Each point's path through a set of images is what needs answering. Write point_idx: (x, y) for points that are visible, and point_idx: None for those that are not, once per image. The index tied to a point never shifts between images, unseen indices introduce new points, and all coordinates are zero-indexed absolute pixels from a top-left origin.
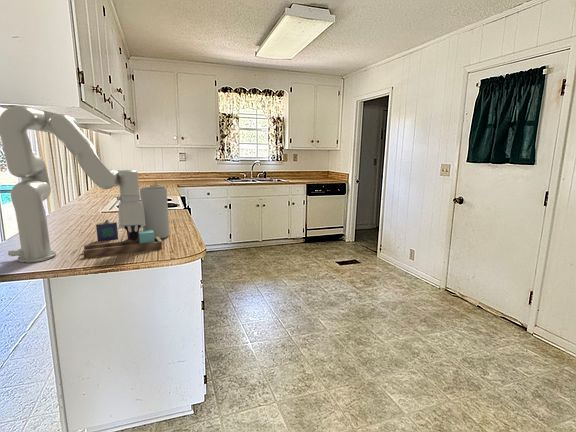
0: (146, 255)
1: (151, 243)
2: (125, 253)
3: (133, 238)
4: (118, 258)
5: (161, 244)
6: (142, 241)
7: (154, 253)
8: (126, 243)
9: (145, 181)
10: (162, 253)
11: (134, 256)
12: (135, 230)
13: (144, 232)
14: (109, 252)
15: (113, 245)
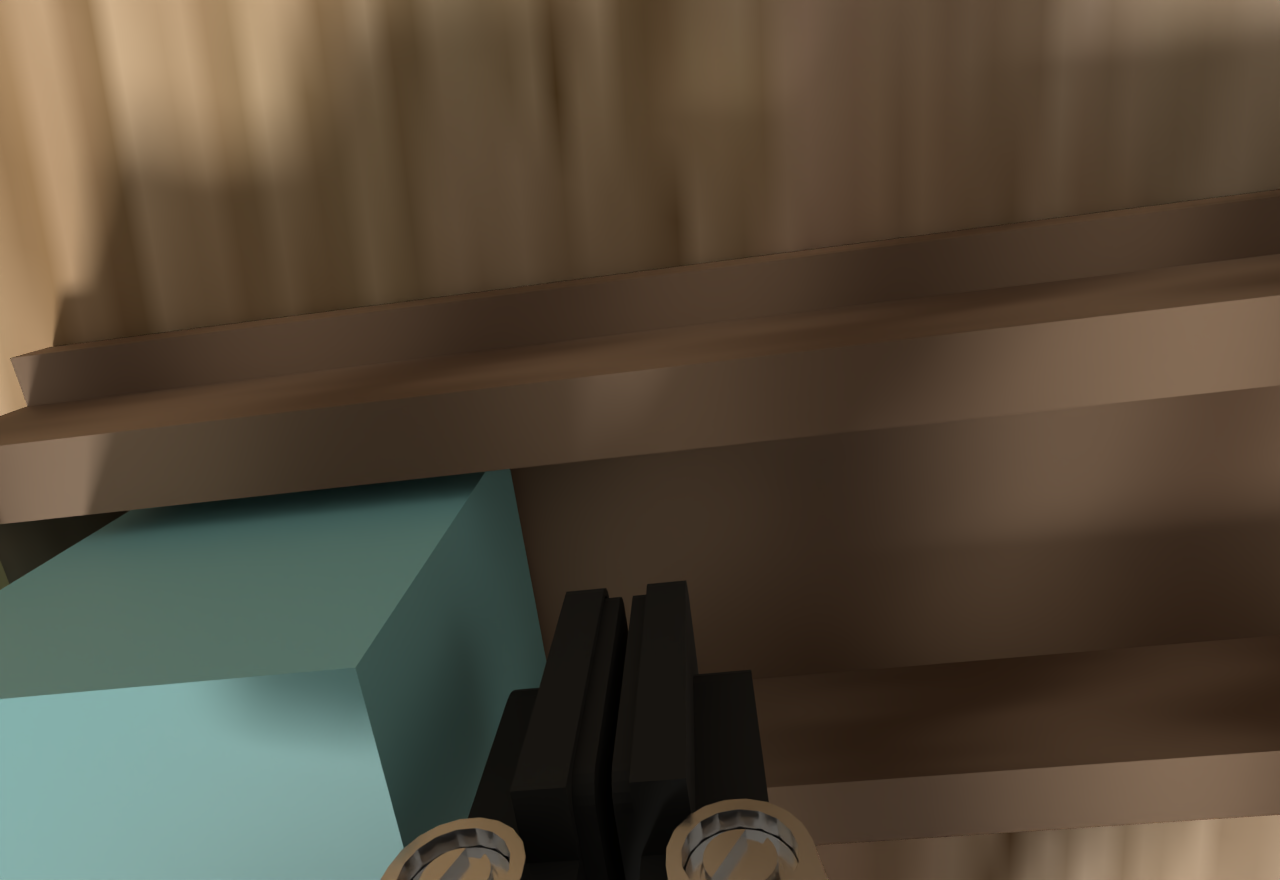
0: (358, 105)
1: (150, 427)
2: (845, 249)
3: (629, 626)
4: (1000, 60)
5: None
6: (378, 524)
7: (196, 217)
8: (838, 745)
9: None
10: (9, 155)
11: (632, 112)
12: (481, 875)
13: (180, 815)
14: (1263, 264)
15: (1151, 713)
